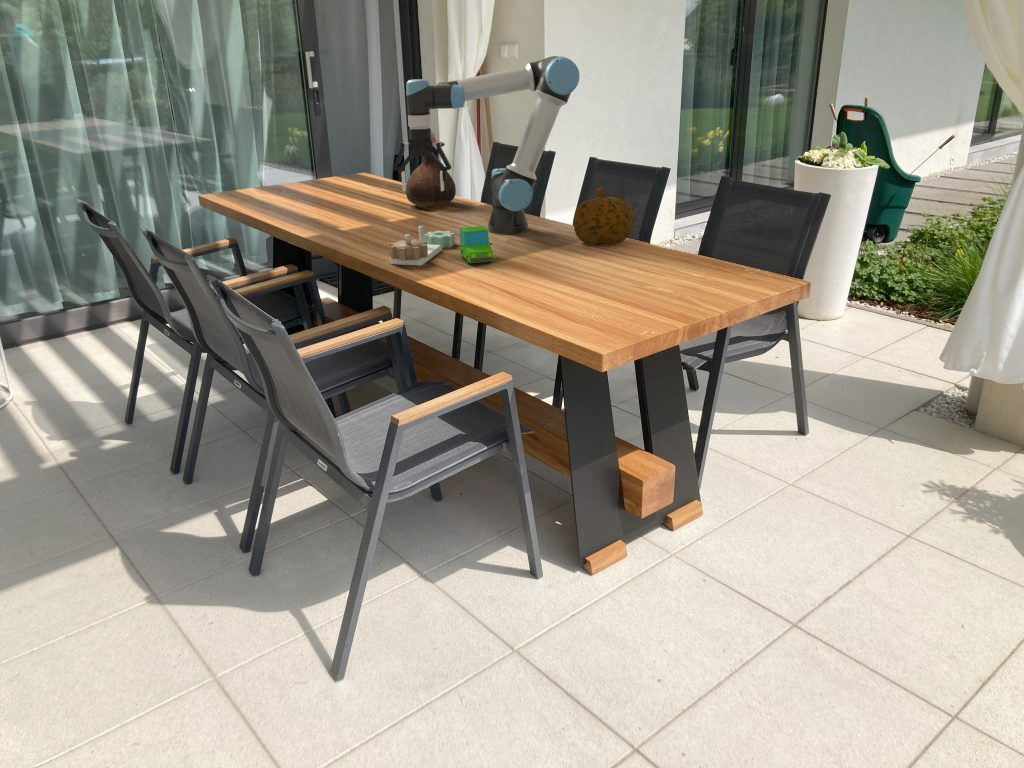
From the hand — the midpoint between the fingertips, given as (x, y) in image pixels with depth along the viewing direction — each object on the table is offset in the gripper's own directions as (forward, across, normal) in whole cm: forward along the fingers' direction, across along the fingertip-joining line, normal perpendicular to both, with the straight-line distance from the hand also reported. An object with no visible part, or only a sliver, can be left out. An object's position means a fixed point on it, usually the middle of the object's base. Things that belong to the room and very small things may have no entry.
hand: (423, 190), depth 293 cm
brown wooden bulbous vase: (+19, +10, -66) cm, 69 cm away
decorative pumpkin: (+19, -63, -3) cm, 66 cm away
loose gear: (+18, -6, +4) cm, 20 cm away
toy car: (+19, -22, +25) cm, 38 cm away
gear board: (+18, 0, +22) cm, 29 cm away
